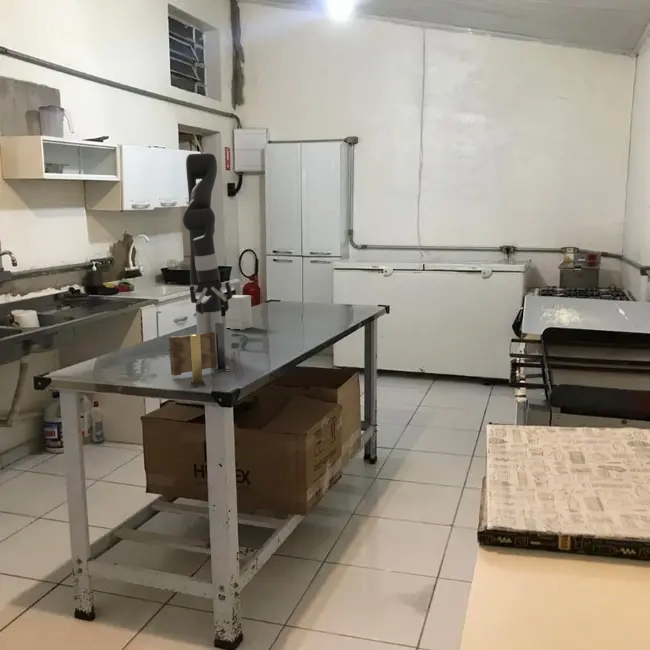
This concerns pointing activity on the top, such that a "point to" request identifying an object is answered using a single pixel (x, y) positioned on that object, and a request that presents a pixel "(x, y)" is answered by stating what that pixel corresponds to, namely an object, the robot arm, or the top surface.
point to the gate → (182, 352)
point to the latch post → (196, 360)
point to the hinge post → (220, 348)
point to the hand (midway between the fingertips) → (214, 312)
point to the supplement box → (239, 312)
